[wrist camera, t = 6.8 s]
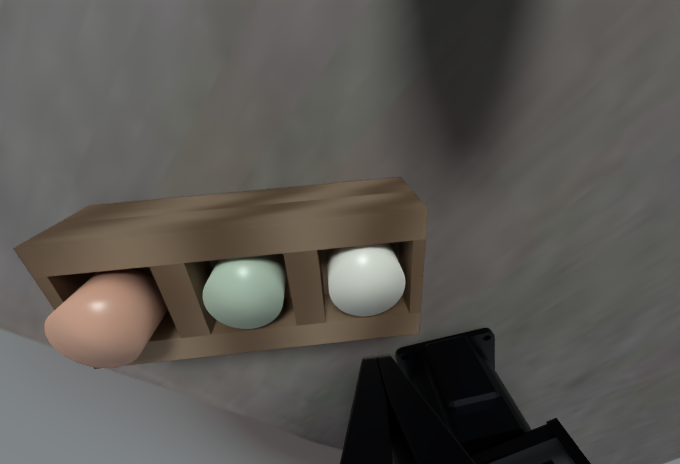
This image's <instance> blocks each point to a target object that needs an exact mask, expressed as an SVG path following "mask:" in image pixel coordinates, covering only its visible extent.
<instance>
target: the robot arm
mask: <svg viewBox="0 0 680 464" xmlns="http://www.w3.org/2000/svg"><path fill="white" fill-rule="evenodd" d="M396 356H397V360H398V364H399V366H398V364H397V363H396V362H395V360H394V359H393V358H392V357H391V356H390V355H381V356H377V358H376V357H374V356H372V357H364V358H363V359H362V362H361V367H360V372H359V377H358V381H357V386H356V391H355V395H354V400H353V405H352V410H351V414H350V419H349V424H348V428H347V433H346V438H345V443H344V447H343V453H342V457H341V462H340V464H393V462H394V464H590V462H589V461H588V460H587V458H586V457H585V456H584V454H583V453H582V452H581V450H580V449H579V447H578V446H577V445H576V443H575V442H574V441H573V439H572V438H571V437H570V435H569V434H568V433H567V431H566V430H565V429H564V427H563V426H562V425H561V423H560V422H559V421H558V419H557V418H554V419H552V420H549V421H547V422H546V423H547V424H546V425H543V426H541V427H538V428H536V429H533V430H531V428H530V426H529V425H528V423H527V422H526V420H525V418H524V417H523V415H522V413H521V412H520V410H519V409H518V407H517V405H516V404H515V402H514V400H513V399H512V397H511V396H510V394H509V392H508V391H507V389H506V387H505V386H504V384H503V383H502V381H501V379H500V378H499V376H498V374H497V373H496V371H495V336H494V334H493V332H492V331H491V330H490V329H489V328H482V329H478V330H474V331H470V332H465V333H461V334H457V335H453V336H448V337H444V338H440V339H436V340H432V341H427V342H423V343H419V344H415V345H410V346H406V347H402V348H399V349H398V350H397V352H396ZM392 459H393V460H392Z"/></svg>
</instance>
